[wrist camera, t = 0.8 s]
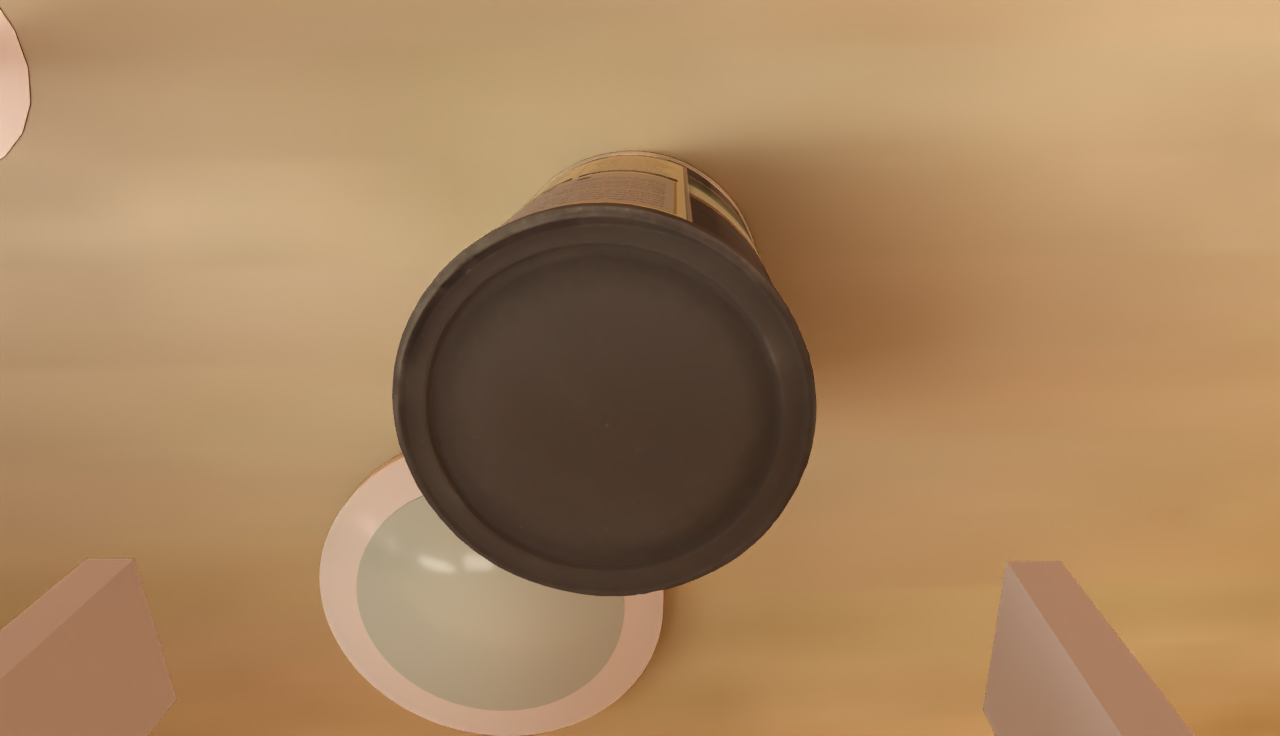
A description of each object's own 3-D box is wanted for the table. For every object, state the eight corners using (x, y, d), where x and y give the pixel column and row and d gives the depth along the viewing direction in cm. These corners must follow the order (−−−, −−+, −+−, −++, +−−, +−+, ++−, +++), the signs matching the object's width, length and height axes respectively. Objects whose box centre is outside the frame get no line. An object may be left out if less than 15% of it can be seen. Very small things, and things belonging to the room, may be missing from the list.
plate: (357, 716, 41) (347, 737, 40) (302, 437, 36) (288, 451, 34) (666, 718, 40) (666, 740, 39) (660, 433, 35) (659, 447, 33)
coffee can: (805, 216, 31) (900, 324, 18) (690, 430, 35) (699, 653, 22) (564, 100, 30) (477, 125, 17) (470, 334, 34) (337, 507, 20)
